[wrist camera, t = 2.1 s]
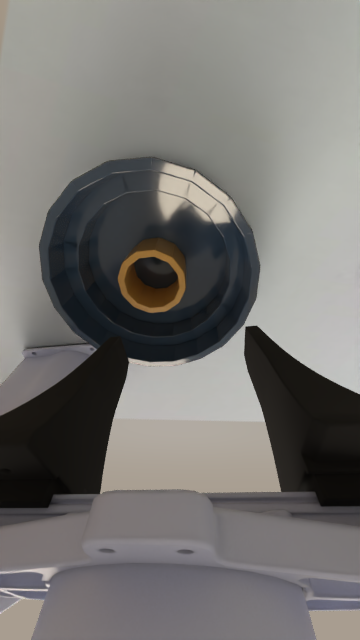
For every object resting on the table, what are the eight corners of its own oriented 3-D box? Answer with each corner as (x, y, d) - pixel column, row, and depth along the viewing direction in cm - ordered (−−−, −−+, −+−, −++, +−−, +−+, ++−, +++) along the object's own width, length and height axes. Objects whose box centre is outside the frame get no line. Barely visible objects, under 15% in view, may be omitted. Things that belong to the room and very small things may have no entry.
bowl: (126, 348, 26) (114, 382, 21) (34, 214, 18) (-13, 225, 14) (259, 307, 22) (276, 338, 18) (213, 119, 15) (223, 97, 10)
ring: (136, 295, 21) (127, 315, 18) (122, 241, 19) (109, 254, 16) (188, 290, 21) (188, 309, 18) (182, 234, 18) (181, 246, 15)
